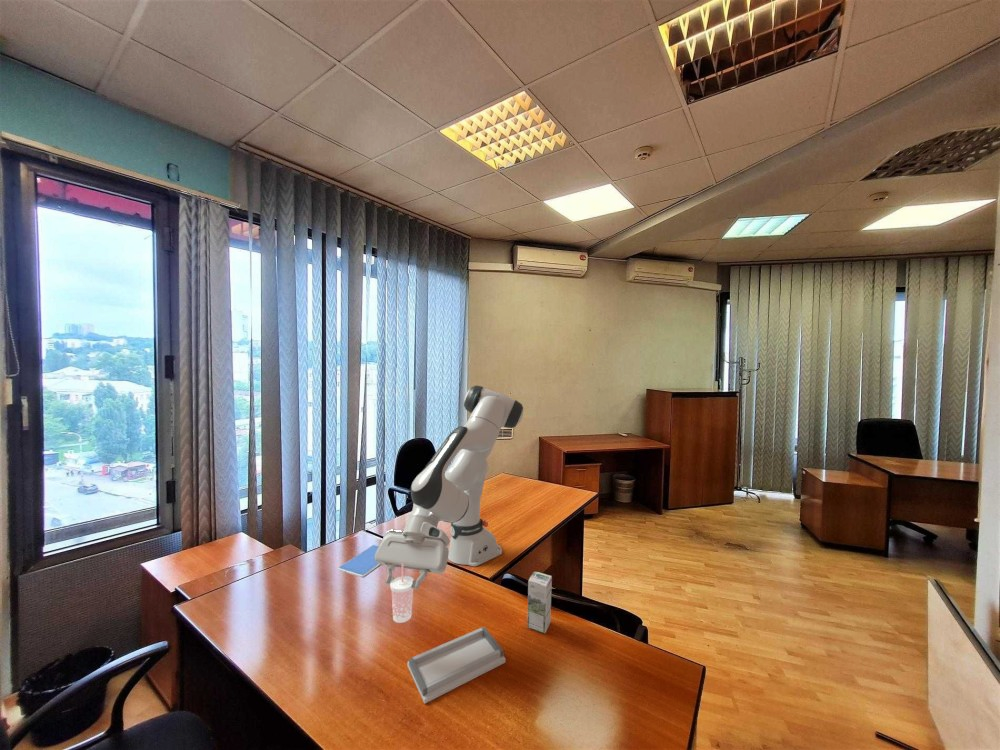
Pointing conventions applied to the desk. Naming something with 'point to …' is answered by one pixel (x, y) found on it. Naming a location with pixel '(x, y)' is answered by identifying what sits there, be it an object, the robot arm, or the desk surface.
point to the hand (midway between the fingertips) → (401, 586)
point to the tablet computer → (361, 563)
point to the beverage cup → (402, 598)
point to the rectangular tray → (455, 663)
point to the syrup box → (539, 602)
